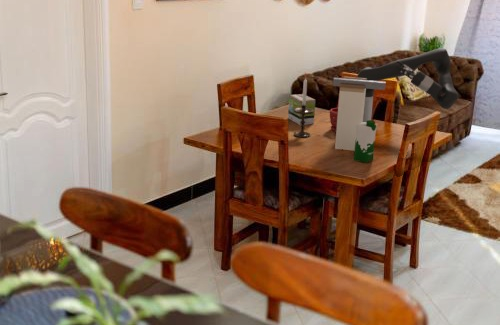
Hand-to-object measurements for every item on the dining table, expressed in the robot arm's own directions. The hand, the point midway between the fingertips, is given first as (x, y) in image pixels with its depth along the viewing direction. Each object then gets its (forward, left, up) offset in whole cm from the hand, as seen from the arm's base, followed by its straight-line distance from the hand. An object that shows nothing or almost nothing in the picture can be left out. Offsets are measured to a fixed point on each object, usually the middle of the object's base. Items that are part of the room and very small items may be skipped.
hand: (396, 63), depth 350 cm
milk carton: (+19, -29, -43) cm, 55 cm away
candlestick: (-28, -37, -43) cm, 63 cm away
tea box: (-54, -23, -43) cm, 73 cm away
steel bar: (0, -22, -11) cm, 24 cm away
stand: (-7, -20, -43) cm, 48 cm away
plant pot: (-30, -11, -43) cm, 54 cm away
